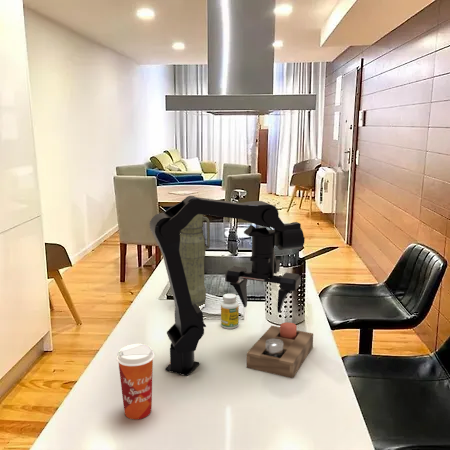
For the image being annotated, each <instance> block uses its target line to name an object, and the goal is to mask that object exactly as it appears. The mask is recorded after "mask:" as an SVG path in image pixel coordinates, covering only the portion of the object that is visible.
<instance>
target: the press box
mask: <svg viewBox="0 0 450 450" xmlns="http://www.w3.org/2000/svg"><path fill="white" fill-rule="evenodd" d="M268 339H280V340H282V341H283V356H282V357H281V358H278V357H273V356H268V355H266V354H265V351H266V340H268ZM313 346H314V332H307V331H302V330H296V338H295V339H294V340H292V339H287V338H282V337H280V326H278V325H277V326H276V325H271V326H270V327H269V328H268V329H267V330H266V331H265V332H264V333H263V334H262V335H261V337H260V338H259V339H258V340H257V341H256V342H255V343H254V344H253V345H252V347H250V349H248V351H247V352H246V368H247V369H252V370H255V371H260V372H264V373H269V374H274V375H277V376H281V377H285V378H289V377H290V378H289V379H293V378H294V377H295V375H297V374H296V373H297V372H298V371H299V370H300V368H301V367H302V364H303V363H304V362H305V360H306V358H307V357H308V355H309V353H310V352H311V350H312V349H313Z"/></svg>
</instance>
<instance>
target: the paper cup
mask: <svg viewBox="0 0 450 450" xmlns="http://www.w3.org/2000/svg"><path fill="white" fill-rule="evenodd" d="M155 356H156V354H155V352H154V349H152V348H151V347H150V346H149V345H148V344H144V343H143V344H142V343H134V344H133V343H132V344H128V345H125V346H123V347H122V348H120V350H119V352H118V355H117V356H116V361H117V363H118V370H119V379H120V387H121V393H122V401H123V402H122V403H123V410H124V415H125V417H126V418H128V419H129V420H142V419H145V418H147V417H149V416H150V415H151V412H152V403H153V402H152V401H153V369H154V368H153V367H154V365H153V364H154V363H153V362H154V361H153V360H154V358H155Z"/></svg>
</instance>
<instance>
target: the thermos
mask: <svg viewBox="0 0 450 450" xmlns="http://www.w3.org/2000/svg"><path fill="white" fill-rule="evenodd" d="M204 221H206V225H207V226H206V231H207V232H206V236H207V237H206V239H207V241H206V239H205V236H204V235H205V234H204V229H203V228H204ZM210 225H211V224H210V220H209V218H208V217H207V216H205V215H201V214H198V215H196V216H195V217H194V218H193V219H192V220H191V221H190V222H189V224H188V225H187V226H186V227H185V228H183V229H182V230H181V231H180V250H179V251H180V256H181V260H182V264H183V269H184V273H185V277H186V281H187V285H188V289H189V293H190V297H191V301H192V305H193V304H197V306H198V307H199V306H201V305H203V304H205V303H206V301H207V288H206V286H205V256H206V250H209V249H210V245H211V244H210V243H211V229H210V228H211V227H210ZM206 242H207V244H206Z"/></svg>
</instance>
